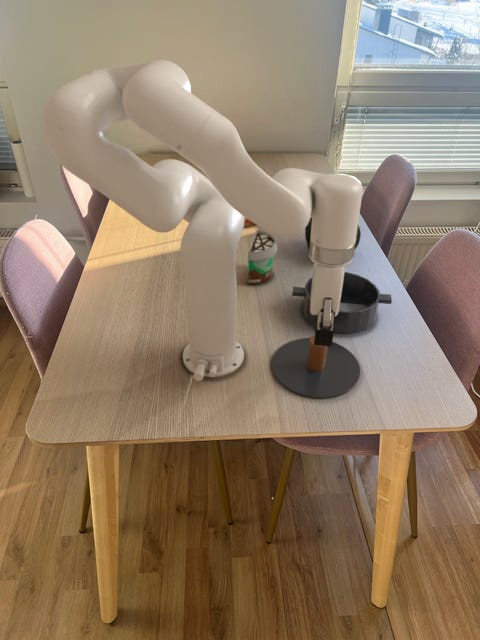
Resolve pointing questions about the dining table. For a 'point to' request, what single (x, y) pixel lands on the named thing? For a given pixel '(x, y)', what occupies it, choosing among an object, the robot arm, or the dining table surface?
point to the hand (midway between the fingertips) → (323, 328)
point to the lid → (315, 368)
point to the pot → (353, 293)
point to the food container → (261, 258)
